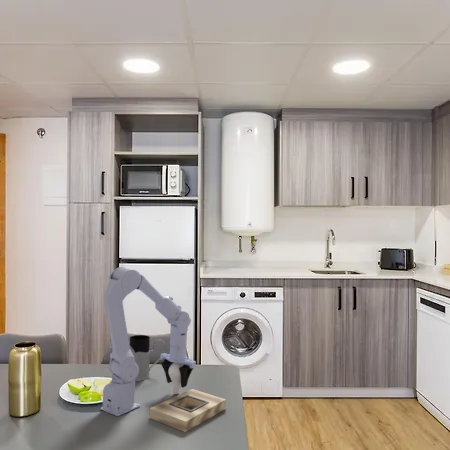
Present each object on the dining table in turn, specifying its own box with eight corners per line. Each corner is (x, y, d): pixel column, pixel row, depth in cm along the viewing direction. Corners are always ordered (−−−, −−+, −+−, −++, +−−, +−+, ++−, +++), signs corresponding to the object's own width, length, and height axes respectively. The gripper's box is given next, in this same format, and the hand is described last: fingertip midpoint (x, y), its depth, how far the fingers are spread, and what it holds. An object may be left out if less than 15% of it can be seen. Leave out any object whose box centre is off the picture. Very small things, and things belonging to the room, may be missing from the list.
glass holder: (125, 373, 167) (127, 335, 167) (162, 371, 171) (163, 333, 171) (127, 381, 158) (129, 340, 159) (165, 378, 163) (167, 339, 163)
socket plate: (185, 432, 121) (185, 420, 121) (149, 418, 129) (150, 407, 129) (225, 408, 137) (226, 398, 137) (191, 397, 145) (192, 388, 145)
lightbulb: (184, 398, 145) (185, 365, 145) (166, 397, 145) (167, 364, 145) (186, 391, 151) (187, 360, 151) (169, 390, 151) (170, 359, 151)
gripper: (201, 346, 147) (200, 386, 147) (170, 339, 155) (169, 376, 155) (188, 350, 141) (187, 392, 141) (156, 343, 150) (155, 381, 150)
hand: (176, 384), depth 148 cm, fingers closed on lightbulb, 6 cm apart
